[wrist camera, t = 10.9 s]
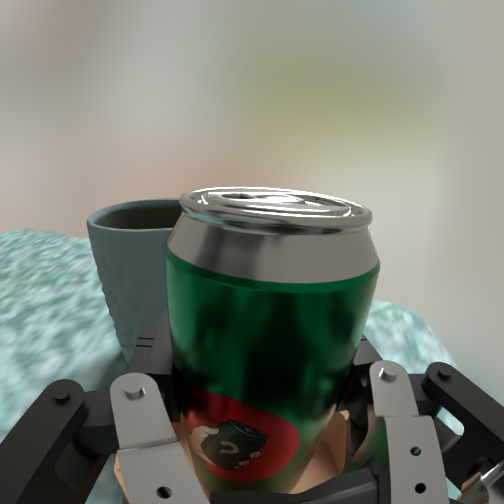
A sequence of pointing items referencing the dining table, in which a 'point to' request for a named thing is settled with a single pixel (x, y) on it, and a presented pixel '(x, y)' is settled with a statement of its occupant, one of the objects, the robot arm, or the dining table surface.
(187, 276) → the soda can
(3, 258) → the dining table surface
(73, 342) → the dining table surface
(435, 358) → the dining table surface
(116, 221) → the grey-green tumbler
